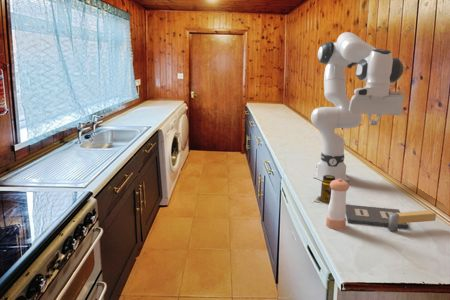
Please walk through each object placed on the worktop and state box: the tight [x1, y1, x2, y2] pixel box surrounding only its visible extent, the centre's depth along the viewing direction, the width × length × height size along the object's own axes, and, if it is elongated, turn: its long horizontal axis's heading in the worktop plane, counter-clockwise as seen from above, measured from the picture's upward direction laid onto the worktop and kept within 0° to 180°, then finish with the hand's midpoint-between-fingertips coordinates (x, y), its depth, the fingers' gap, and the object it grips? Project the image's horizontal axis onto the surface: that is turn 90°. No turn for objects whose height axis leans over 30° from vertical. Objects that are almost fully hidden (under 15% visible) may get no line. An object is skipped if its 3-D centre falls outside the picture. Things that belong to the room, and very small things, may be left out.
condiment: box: [314, 175, 335, 206], centre depth 170 cm, size 7×8×12 cm
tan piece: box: [387, 209, 437, 232], centre depth 143 cm, size 18×3×6 cm, turn 101°
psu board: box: [345, 204, 409, 230], centre depth 154 cm, size 16×22×2 cm
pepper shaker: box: [325, 179, 350, 231], centre depth 144 cm, size 7×7×19 cm
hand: (373, 125), depth 153 cm, fingers closed
